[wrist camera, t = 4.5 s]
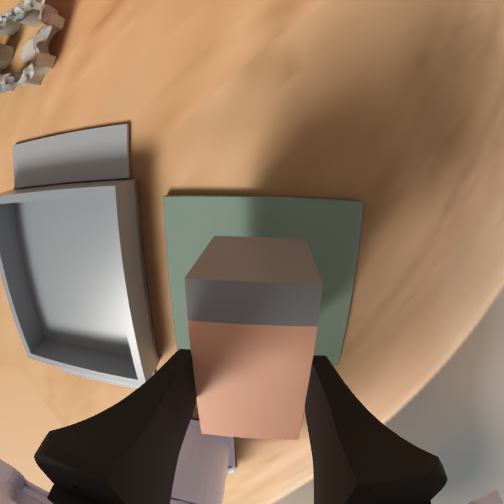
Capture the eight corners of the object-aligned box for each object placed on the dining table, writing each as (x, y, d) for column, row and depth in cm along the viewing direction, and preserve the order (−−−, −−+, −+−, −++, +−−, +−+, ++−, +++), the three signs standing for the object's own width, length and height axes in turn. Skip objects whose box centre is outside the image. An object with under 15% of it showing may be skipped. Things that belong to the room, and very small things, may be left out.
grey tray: (165, 391, 24) (155, 417, 21) (57, 367, 25) (42, 386, 22) (137, 123, 17) (113, 120, 14) (11, 146, 18) (-17, 150, 15)
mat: (336, 359, 22) (337, 364, 21) (180, 352, 22) (178, 357, 22) (360, 201, 18) (363, 202, 17) (166, 195, 18) (163, 196, 18)
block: (293, 368, 17) (298, 439, 12) (218, 365, 18) (201, 433, 12) (306, 238, 15) (322, 283, 10) (214, 235, 15) (184, 278, 10)
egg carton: (76, 5, 14) (46, -11, 10) (51, 93, 17) (16, 89, 13) (-4, 28, 14) (-32, 22, 10) (-22, 101, 16) (-52, 102, 13)
